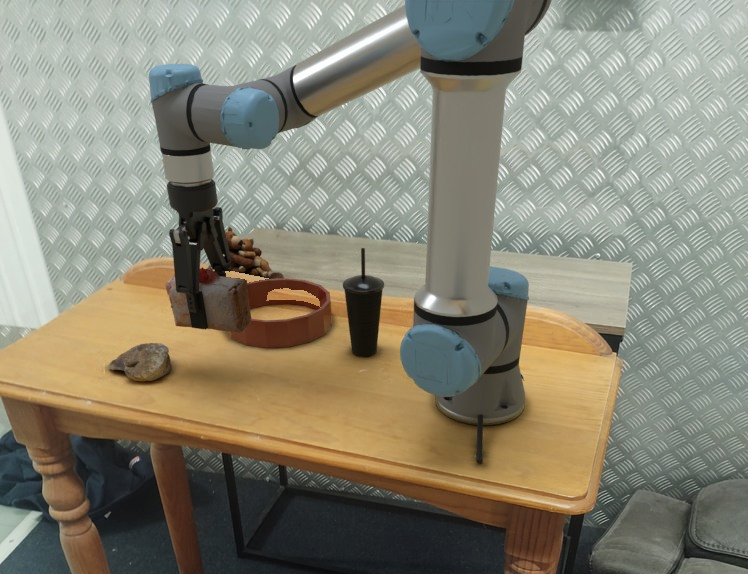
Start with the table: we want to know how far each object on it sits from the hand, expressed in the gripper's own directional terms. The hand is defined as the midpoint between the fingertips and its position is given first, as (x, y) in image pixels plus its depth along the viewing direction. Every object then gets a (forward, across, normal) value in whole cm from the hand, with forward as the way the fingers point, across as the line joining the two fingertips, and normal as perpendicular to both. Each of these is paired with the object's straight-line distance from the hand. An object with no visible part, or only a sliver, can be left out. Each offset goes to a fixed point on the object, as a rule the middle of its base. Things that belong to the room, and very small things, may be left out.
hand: (211, 317), depth 126 cm
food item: (+1, 0, 0) cm, 1 cm away
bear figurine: (+11, -43, -14) cm, 47 cm away
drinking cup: (+11, -16, +23) cm, 30 cm away
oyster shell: (+11, +3, -15) cm, 19 cm away
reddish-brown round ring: (+11, -23, +2) cm, 26 cm away
